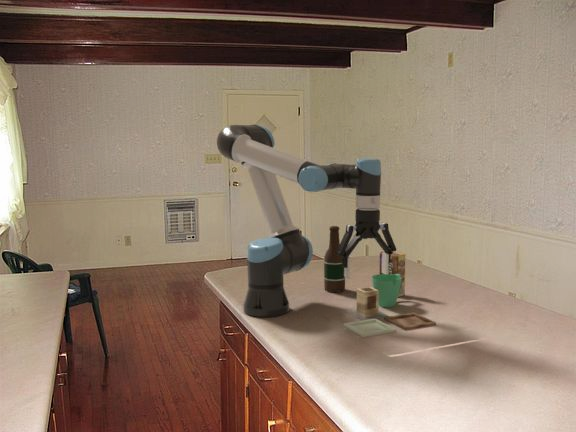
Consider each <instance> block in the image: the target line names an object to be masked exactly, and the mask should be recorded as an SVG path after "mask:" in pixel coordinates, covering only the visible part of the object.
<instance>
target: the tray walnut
mask: <svg viewBox="0 0 576 432" xmlns="http://www.w3.org/2000/svg"><path fill="white" fill-rule="evenodd" d="M383 320H384V321H385V322H388V323H390V324H392V325H393V326H395V327H398V328H399V329H401V330H404V331H409V330H414V329H420V328H426V327H432V326H436V325H437V323H436V321H433V320H432V319H428V318H427V317H425V316H423V315H420V314H418V313H416V312H409V313H403V314H401V313H400V314H395V315H388V317H384V318H383Z"/></svg>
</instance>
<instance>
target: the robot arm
mask: <svg viewBox="0 0 576 432" xmlns="http://www.w3.org/2000/svg"><path fill="white" fill-rule="evenodd" d="M274 138H275V137H274V136H273V134H272V132H271V131H270V130H269V129H268V128H267V127H265V126H263V125H258V124H230V125H227V126H225V127H223V128H222V129H221V130H220V131H219V133H218V134H217V138H216V148H217V150H218V152H219V153H220V154H221V156H223V158H226V159H228V160H230V161H233V162H236V163H238V164H239V163H240V164H241V167H242V168H244V169H245V170H247V171H248V173H249V177H250V180H251V183H252V185H253V188H254V191H255V194H256V197H257V199H258V203H259V206H260V208H261V211H262V215H263V217H264V219H265V220H264V221H265V223H266V226H267V229H268V232H269V235H268V237H264V238H258V239H255V240H252V241H251V242H249V244H248V245H247V252H246V260H247V261H246V262H247V284H248V285H247V286H248V287H247V291H246V295H245V298H244V301H243V305H242V306H243V313H244V314H246V315H248V316H250V317H257V318H258V317H259V318H264V317H265V318H272V317H278V316H282V315H285V314H287V313H288V312H289V311H290V301H289V299H288V296H287V293H286V290H285V287H284V286H285V285H284V275H287V274H290V273H293V272H297V271H300V270H303V269H304V268H306V267H307V266H308V265H309V264H310V263H311V261H312V258H313V256H314V255H313V254H314V253H313V251H314V250H313V245H312V242H311V241H310V239H309V238H307V237H306V236H304V235H302V234H301V230H300V228H299V227H297V226H295V225H294V224H293V221H292V218H291V215H290V212H289V209H288V207H287V204H286V201H285V199H284V196H283V193H282V190H281V187H280V184H279V180H278V178H277V176H279V177H280V178H284V179H285V180H289V181H291V182H294V183H296V184H298V185H299V186H300V187H301V188H302V190H303V191H306V192H311V193H318V192H320V191H321V192H322V191H327V190H334V189H336V190H337V189H355V208H356V209H355V214H354V215H355V218H354V219H355V224H354V225H350V224H347V225H346V226H345V232H344V235H343V237H342V239H341V241H340V245H339V247H338V250H337V252H336V254H337V255H339V256H342V267H344V277H345V279H348V280H349V279H351V265H352V263H351V262H352V261H351V258H352V257H350V255H351V254H352V253H353V251H354V249H356V247H357V245H358V244H359V243H360V242H361V241H362V240H367V239H370V240H371V239H374V240H375V241H376V243H377V244H378V246H379V247H380V248H381V249H382V250H383V251H384V252H385V253H382V273H384V274H386V275H387V274H388V263H390V260H391V254H393V252H397V247H396V244H395V242H394V239H393V238H392V234H391V233H390V229H389V224H388V223H387V222H381V223H380V221H381V220H380V219H381V210H380V208H381V185H382V182H381V181H382V179H381V178H382V164H381V160H380V159H378V158H366V157H365V158H364V157H363V158H358V159H356V163H355V164H346V163H338V162H337V163H336V162H335V163H327V164H324V165H320V164H317V163H315V162H311V161H309V160H307V159H304V158H301V157H299V156H296V155H294V154H290V153H289V152H285V151H283V150H280V149H277V148H275V145H276V143H275V139H274ZM379 230H381V233H382V235H383V237H384V239H383V237H382V235H381V234H380V233H379ZM353 233H354V235H353ZM351 238H352V239H351Z"/></svg>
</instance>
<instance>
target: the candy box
mask: <svg viewBox="0 0 576 432" xmlns="http://www.w3.org/2000/svg"><path fill="white" fill-rule="evenodd" d="M382 253H385V252H384V250H383V251H379V274H384V273H382ZM388 274H394V275H395V274H400V275H401V277H402V286H401V289H400V292H399V295H398V298H400V297H403V296H405V295H406V291H405V290H406V253H401V252H398V251H393V254H391V260H390V263H388Z"/></svg>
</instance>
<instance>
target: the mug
mask: <svg viewBox="0 0 576 432" xmlns="http://www.w3.org/2000/svg"><path fill="white" fill-rule="evenodd" d="M371 282H372V288H374V289H376V290H379V307H382V308H393V307H394V306H395V305H396V302H397V300H398V298H399V297H398V295H399V292H400V289H401V286H402V277H401V275H400V274H395V275H394V274H387V275H386V274H380V273H379V274H374V275H373V276H371Z"/></svg>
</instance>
